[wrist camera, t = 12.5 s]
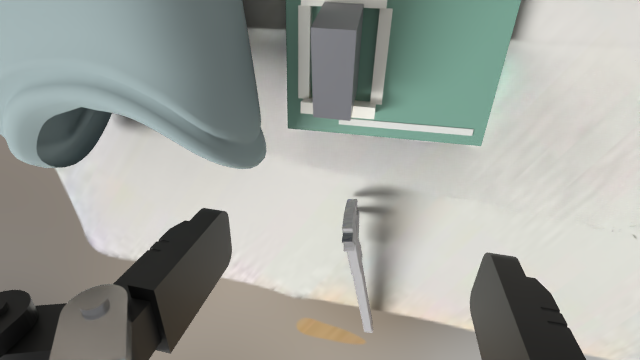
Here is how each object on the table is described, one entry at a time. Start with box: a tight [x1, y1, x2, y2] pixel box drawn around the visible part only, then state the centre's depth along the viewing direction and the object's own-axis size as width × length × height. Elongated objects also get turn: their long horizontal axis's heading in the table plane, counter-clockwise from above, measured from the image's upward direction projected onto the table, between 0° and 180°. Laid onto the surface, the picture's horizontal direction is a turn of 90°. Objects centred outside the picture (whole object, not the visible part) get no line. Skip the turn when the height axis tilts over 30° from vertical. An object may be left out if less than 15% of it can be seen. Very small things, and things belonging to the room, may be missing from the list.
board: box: [286, 0, 521, 146], centre depth 28 cm, size 18×14×3 cm
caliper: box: [342, 199, 373, 333], centre depth 38 cm, size 20×1×6 cm, turn 9°
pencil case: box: [0, 0, 266, 169], centre depth 27 cm, size 22×19×13 cm
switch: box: [311, 2, 364, 121], centre depth 26 cm, size 3×5×8 cm
